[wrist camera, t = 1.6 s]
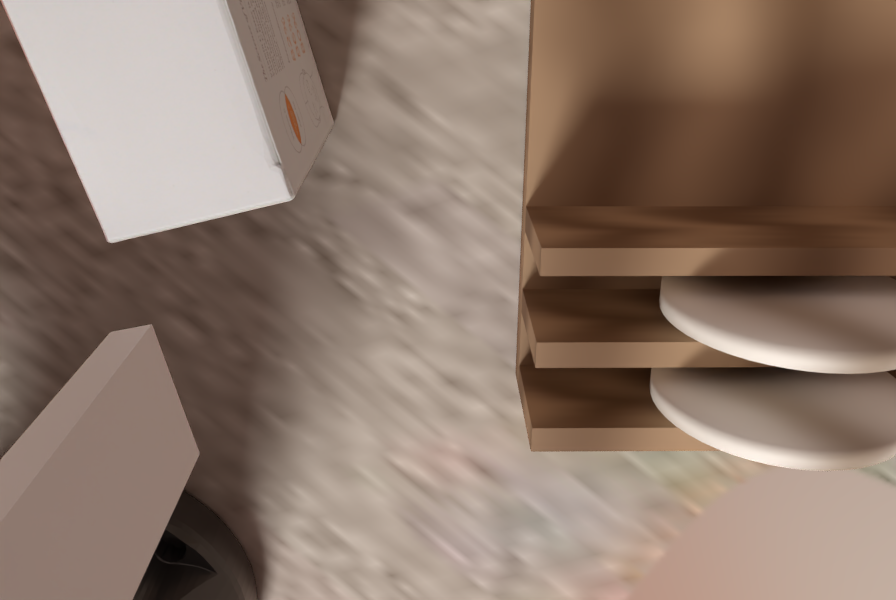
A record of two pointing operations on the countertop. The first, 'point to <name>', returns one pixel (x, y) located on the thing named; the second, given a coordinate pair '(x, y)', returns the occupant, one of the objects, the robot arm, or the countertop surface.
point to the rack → (711, 229)
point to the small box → (177, 104)
